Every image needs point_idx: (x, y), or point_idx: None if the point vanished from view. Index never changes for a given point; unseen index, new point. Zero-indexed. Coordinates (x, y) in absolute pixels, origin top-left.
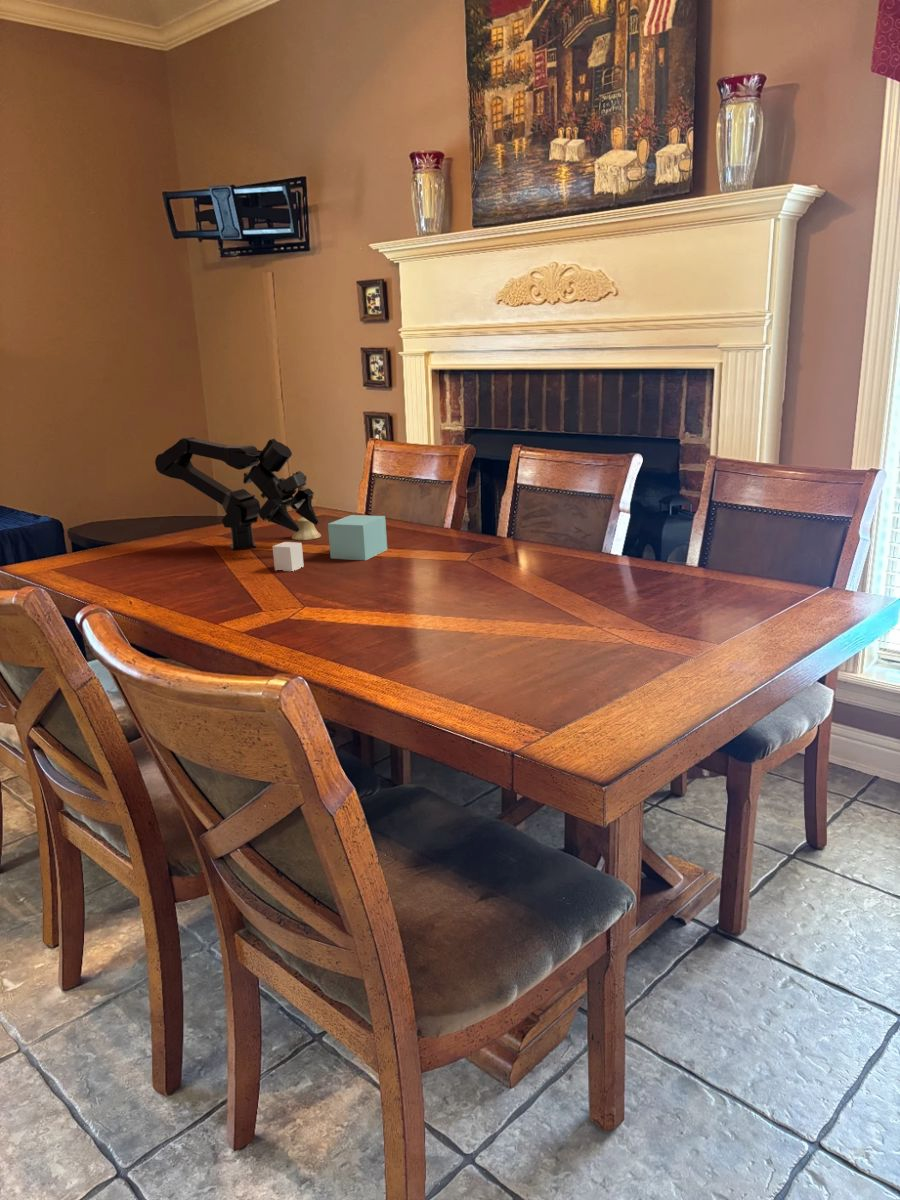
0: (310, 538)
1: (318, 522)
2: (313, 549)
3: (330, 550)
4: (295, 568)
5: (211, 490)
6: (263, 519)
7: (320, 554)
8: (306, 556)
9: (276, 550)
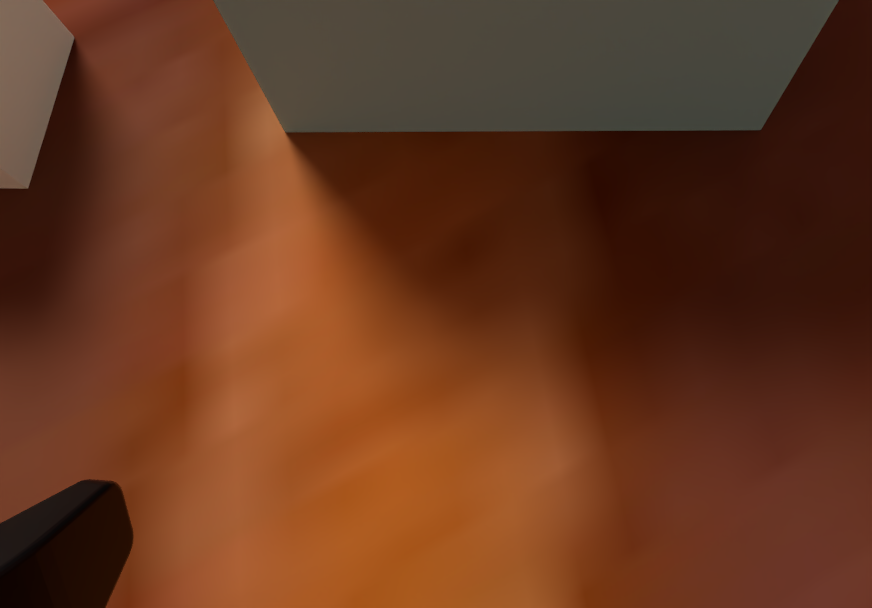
0: None
1: (96, 480)
2: (402, 543)
3: (792, 70)
4: None
5: None
6: None
7: (628, 320)
8: (770, 438)
9: None
